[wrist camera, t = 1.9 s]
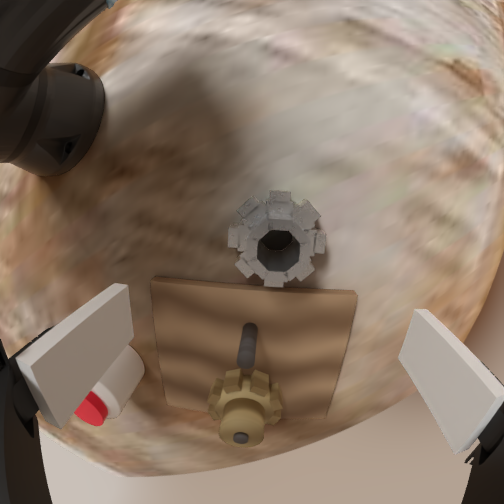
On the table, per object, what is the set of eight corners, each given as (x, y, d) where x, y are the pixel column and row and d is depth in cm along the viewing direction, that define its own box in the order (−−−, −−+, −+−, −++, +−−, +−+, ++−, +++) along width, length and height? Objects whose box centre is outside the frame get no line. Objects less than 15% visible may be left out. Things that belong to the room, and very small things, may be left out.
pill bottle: (152, 383, 33) (122, 437, 23) (110, 379, 34) (76, 425, 23) (133, 338, 32) (92, 389, 21) (91, 337, 32) (47, 379, 22)
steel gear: (234, 187, 26) (222, 188, 20) (323, 194, 26) (341, 197, 19) (231, 273, 29) (219, 300, 22) (314, 279, 28) (327, 307, 21)
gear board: (155, 276, 29) (115, 310, 20) (353, 290, 28) (383, 331, 19) (170, 398, 34) (150, 443, 25) (323, 411, 33) (332, 460, 24)
